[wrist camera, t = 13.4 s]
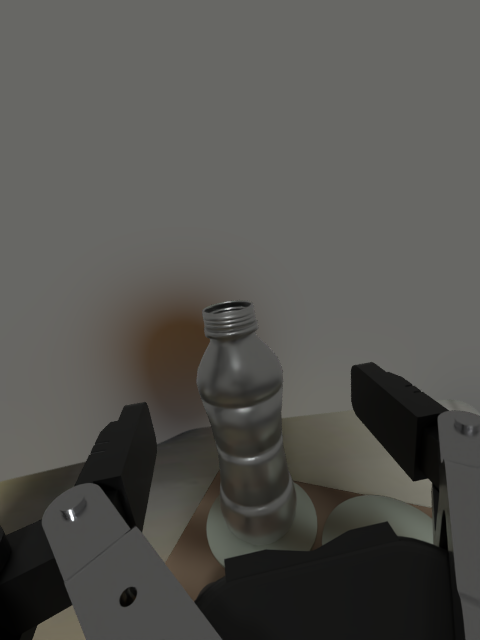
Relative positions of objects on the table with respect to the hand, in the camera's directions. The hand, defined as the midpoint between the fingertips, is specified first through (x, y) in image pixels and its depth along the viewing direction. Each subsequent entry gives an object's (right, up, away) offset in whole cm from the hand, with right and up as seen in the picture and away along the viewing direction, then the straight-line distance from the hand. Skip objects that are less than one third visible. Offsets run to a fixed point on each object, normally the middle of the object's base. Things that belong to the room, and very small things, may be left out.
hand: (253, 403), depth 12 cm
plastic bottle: (+1, -15, +15) cm, 22 cm away
